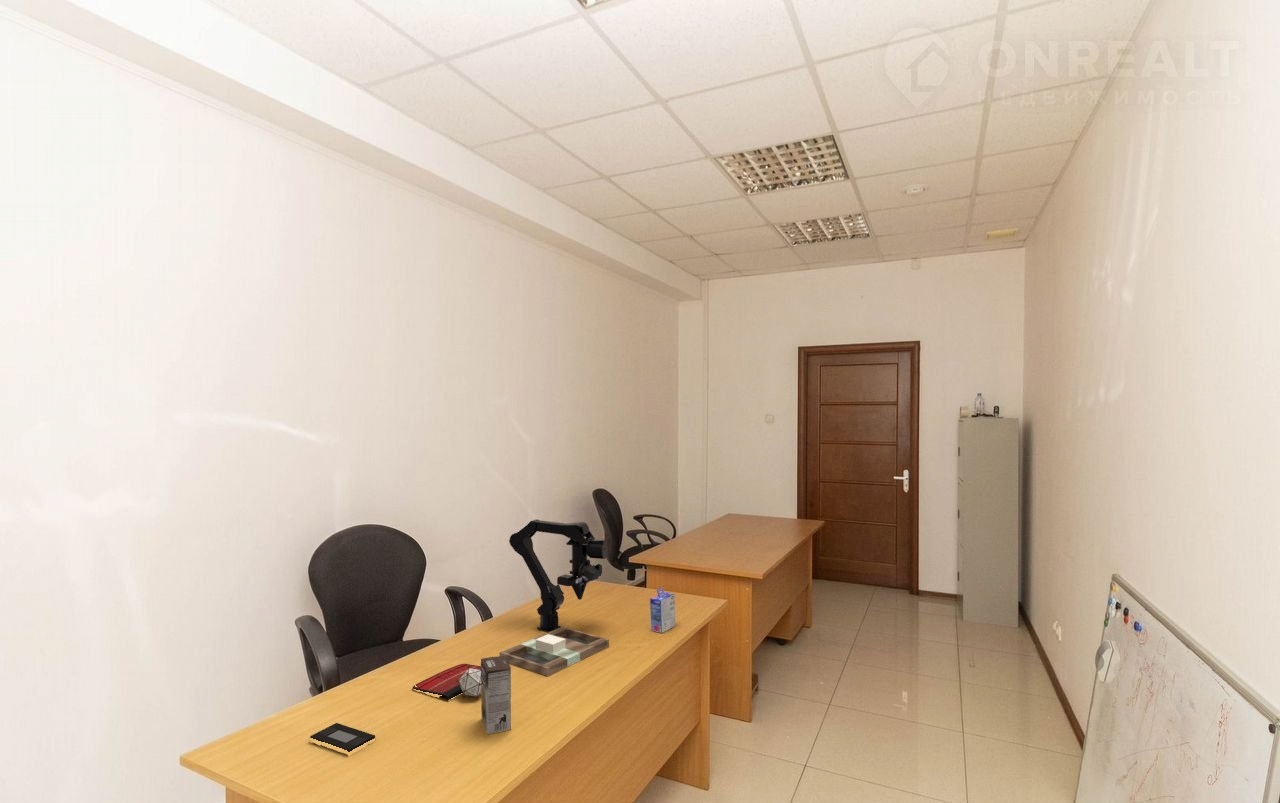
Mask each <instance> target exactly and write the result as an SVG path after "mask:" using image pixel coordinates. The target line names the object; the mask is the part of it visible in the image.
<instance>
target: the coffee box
mask: <svg viewBox="0 0 1280 803" xmlns="http://www.w3.org/2000/svg"><path fill="white" fill-rule="evenodd" d="M480 666H481V693H480V694H481V695H480V698H481V702H480V704H481V722H482V724H483V726H484V729H485V732H486V735H491V734H490V733H492V734H496V733H495V732H497V733H500V731H502V732H506V730H507V731H511V730H512V727H511V726H512V716H511V714H512V709H511V708H512V667H511V664H510V663H508V662H507V660H506V658H505V656H500V655H498V656H489V657H483V658H481V659H480ZM510 729H511V730H510Z"/></svg>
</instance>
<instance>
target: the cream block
mask: <svg viewBox="0 0 1280 803" xmlns="http://www.w3.org/2000/svg"><path fill="white" fill-rule="evenodd" d="M565 648H566V639H564V638H560V637H556V636H553V635H549V634H548V635H545V636H543V637H540V638H538V639H536V649H539V650H542V651H545V652H549V653H552V654H554V653H556V652H558V651H560V650H563V649H565Z"/></svg>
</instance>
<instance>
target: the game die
mask: <svg viewBox="0 0 1280 803" xmlns="http://www.w3.org/2000/svg"><path fill="white" fill-rule="evenodd" d="M468 668H469V669H468V670H467V671H466V672H465V673H464V675H463V676H462V677H461V678H460V679H459V680H455V681H456V682H459V684H460V687H461V689H462V691H463V694H462V695H461V697H462V696H464V697H465V696H469V697H473V698H474V697H476V700H477V699H478V700H479V695H480V694H481V670H479V669H472V668H470V667H469V665H468Z"/></svg>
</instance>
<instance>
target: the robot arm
mask: <svg viewBox="0 0 1280 803" xmlns="http://www.w3.org/2000/svg"><path fill="white" fill-rule="evenodd" d="M538 532H539V533H547V534H554V535H561V536H565V537H566V538H568V539H569V540H568V541H567V542H566V544H565V545H567V546H571V559H569V564H571V570H569V574H562V575H559V576H558V577H557V579H556V582H557V583H556V584H557V585H555V584H554V583H552V581H551V579H550V577H549V576H548V574H547V572H546V570H545V568H544V567H543V565H542V563H541V561H540V560H539V557H538V556H537V554H536V552H535V551H534V543H533V540H532V538H533V537H534V536H535V535H536V534H537V533H538ZM508 542H509V545H510V546H511V548H512V549H513V550H514V552H515V553H517V554H519V556H521V557H522V559H523V561H524V564H526V567H527V568H528V570H529V572H530V573H531V576H532V577H533V579H534V581H535V582H536V583H535V584H536V585H537V586H538V589H539V590H540V599H541V602H542V604H540V605H539V607H537V609H536V611H537V614H538V615H539V620H540V622H539V624H540V625H539V626H537V630H541V631H544V632H546V633H549V632H551V631H553V630H556V629H558V628H561V627H562V626H561V625H559V612H558V610H560V608H561V606H562V605H563V604H564V601H565V596H564V594H565V592H563V589H562V588H561V586H563V587H564V586H565V587H572V589H573V592H574V594H575V596H576V597H577V599H578V601H579V600H580V601H581V600H582V599H583V595H584V592H585V589H586V587H587V585H588V584H589V583H590V582H593V581H595V580H599V577H601V576H602V574H603V565H602V564H600V563H598V564H595V565H594V564H593V565H592V563H591V560H590V559H597V560H599V559H601V560H606V559H607V557H608V552H609V548H608V545H607V543H606V539H596V538H595V536H594V535H593V533H592V531H591V530H590V527H589V525H588V524H587V523H586V522H584V521H577V522H570V523H569V522H568V523H564V522H557V521H556V522H555V521H549V520H548V521H547V520H539V519H534V520H531V521H529V522H528V523H527V524H526V525H525V526H524V527H523V528H521V529H520V530H519V531H517V532H514V533H512V534H511V535H510V537H509V540H508ZM588 557H589V559H588ZM560 585H561V586H560Z"/></svg>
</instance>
